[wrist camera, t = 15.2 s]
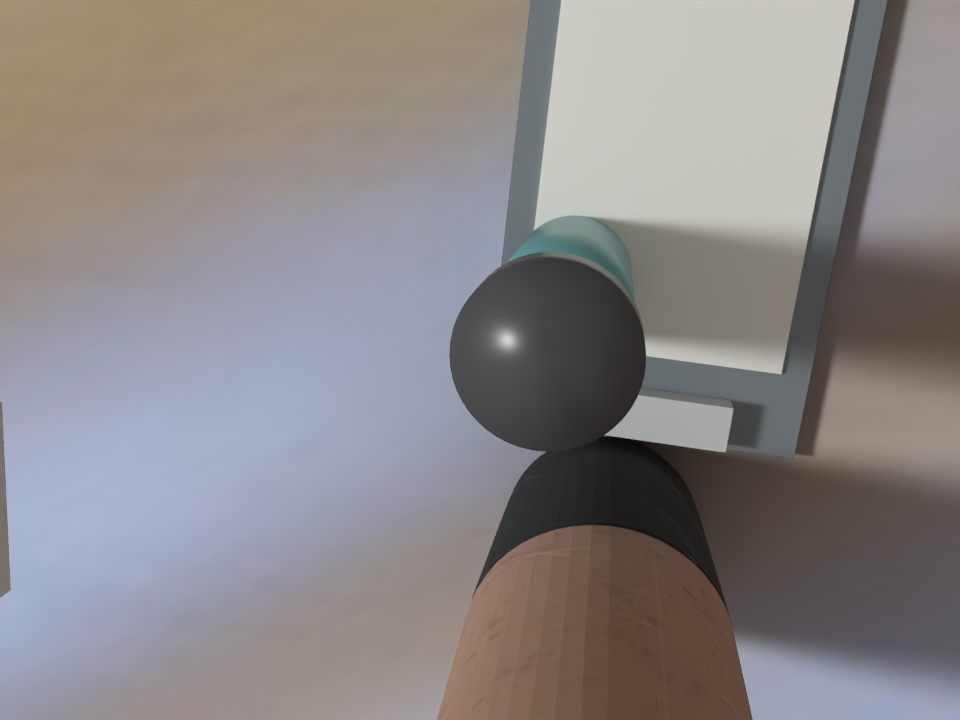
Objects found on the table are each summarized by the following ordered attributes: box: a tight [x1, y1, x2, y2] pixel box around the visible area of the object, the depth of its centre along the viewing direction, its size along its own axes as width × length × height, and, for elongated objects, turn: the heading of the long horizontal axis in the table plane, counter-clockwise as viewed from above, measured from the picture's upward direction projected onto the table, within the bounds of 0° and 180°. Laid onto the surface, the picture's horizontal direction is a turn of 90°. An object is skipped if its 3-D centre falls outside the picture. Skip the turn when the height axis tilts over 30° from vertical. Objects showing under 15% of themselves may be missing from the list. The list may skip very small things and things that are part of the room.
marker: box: [450, 215, 646, 451], centre depth 26 cm, size 4×4×12 cm
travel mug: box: [437, 437, 752, 720], centre depth 25 cm, size 8×8×20 cm
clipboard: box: [501, 0, 887, 459], centre depth 30 cm, size 18×11×2 cm, turn 175°
